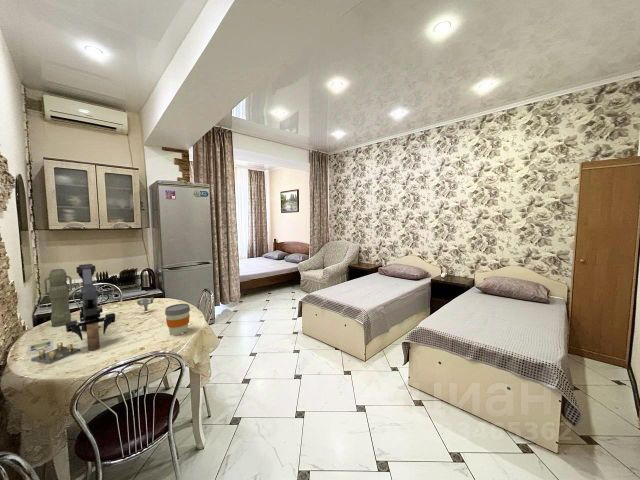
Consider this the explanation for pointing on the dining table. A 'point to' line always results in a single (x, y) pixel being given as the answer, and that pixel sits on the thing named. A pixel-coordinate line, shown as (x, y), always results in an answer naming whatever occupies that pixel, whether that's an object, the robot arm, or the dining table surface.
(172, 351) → the dining table surface
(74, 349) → the chassis plate
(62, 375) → the dining table surface
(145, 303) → the mechanical component
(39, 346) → the handheld gaming device
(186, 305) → the reusable coffee cup
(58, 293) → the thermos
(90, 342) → the walnut post
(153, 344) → the dining table surface
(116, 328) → the dining table surface
